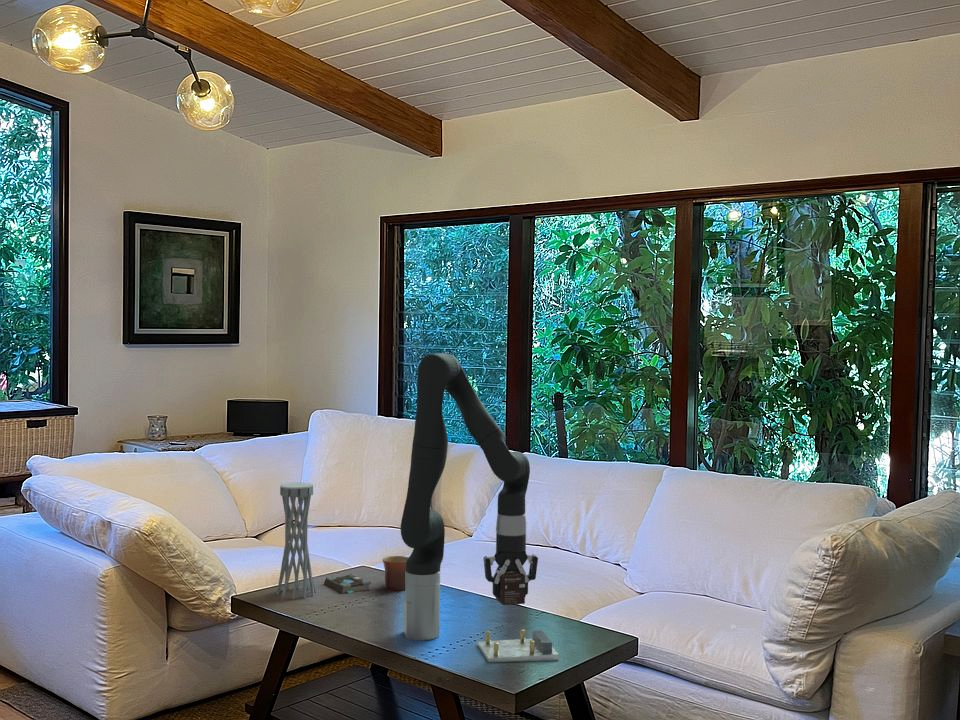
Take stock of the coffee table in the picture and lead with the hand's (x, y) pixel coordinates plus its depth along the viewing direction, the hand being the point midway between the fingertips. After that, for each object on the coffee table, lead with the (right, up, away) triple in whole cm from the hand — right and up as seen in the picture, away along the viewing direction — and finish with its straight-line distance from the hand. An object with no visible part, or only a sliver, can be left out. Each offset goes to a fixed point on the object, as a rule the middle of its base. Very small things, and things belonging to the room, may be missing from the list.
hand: (510, 596), depth 244 cm
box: (0, -1, 0) cm, 1 cm away
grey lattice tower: (-63, -13, +46) cm, 79 cm away
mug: (-34, -13, +59) cm, 69 cm away
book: (-47, -13, +56) cm, 74 cm away
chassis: (+2, -15, +1) cm, 15 cm away
